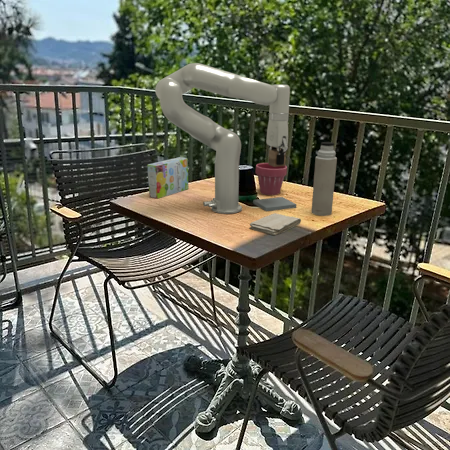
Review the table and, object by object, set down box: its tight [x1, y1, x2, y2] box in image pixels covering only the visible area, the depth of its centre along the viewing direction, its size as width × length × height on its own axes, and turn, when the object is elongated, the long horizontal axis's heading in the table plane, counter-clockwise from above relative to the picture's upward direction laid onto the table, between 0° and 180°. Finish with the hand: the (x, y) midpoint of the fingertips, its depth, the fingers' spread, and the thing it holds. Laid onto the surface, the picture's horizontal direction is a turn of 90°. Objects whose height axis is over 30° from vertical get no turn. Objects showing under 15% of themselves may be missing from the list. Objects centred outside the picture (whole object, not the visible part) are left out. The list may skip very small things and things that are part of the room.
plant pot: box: [255, 162, 288, 196], centre depth 199 cm, size 14×14×13 cm
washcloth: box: [249, 212, 302, 236], centre depth 158 cm, size 12×18×3 cm, turn 142°
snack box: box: [146, 156, 190, 200], centre depth 197 cm, size 21×6×15 cm, turn 144°
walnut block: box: [267, 148, 287, 167], centre depth 175 cm, size 5×5×6 cm
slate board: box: [252, 196, 297, 212], centre depth 182 cm, size 14×12×2 cm
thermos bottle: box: [311, 141, 338, 217], centre depth 169 cm, size 8×8×28 cm
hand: (276, 162), depth 176 cm, fingers closed on walnut block, 5 cm apart
